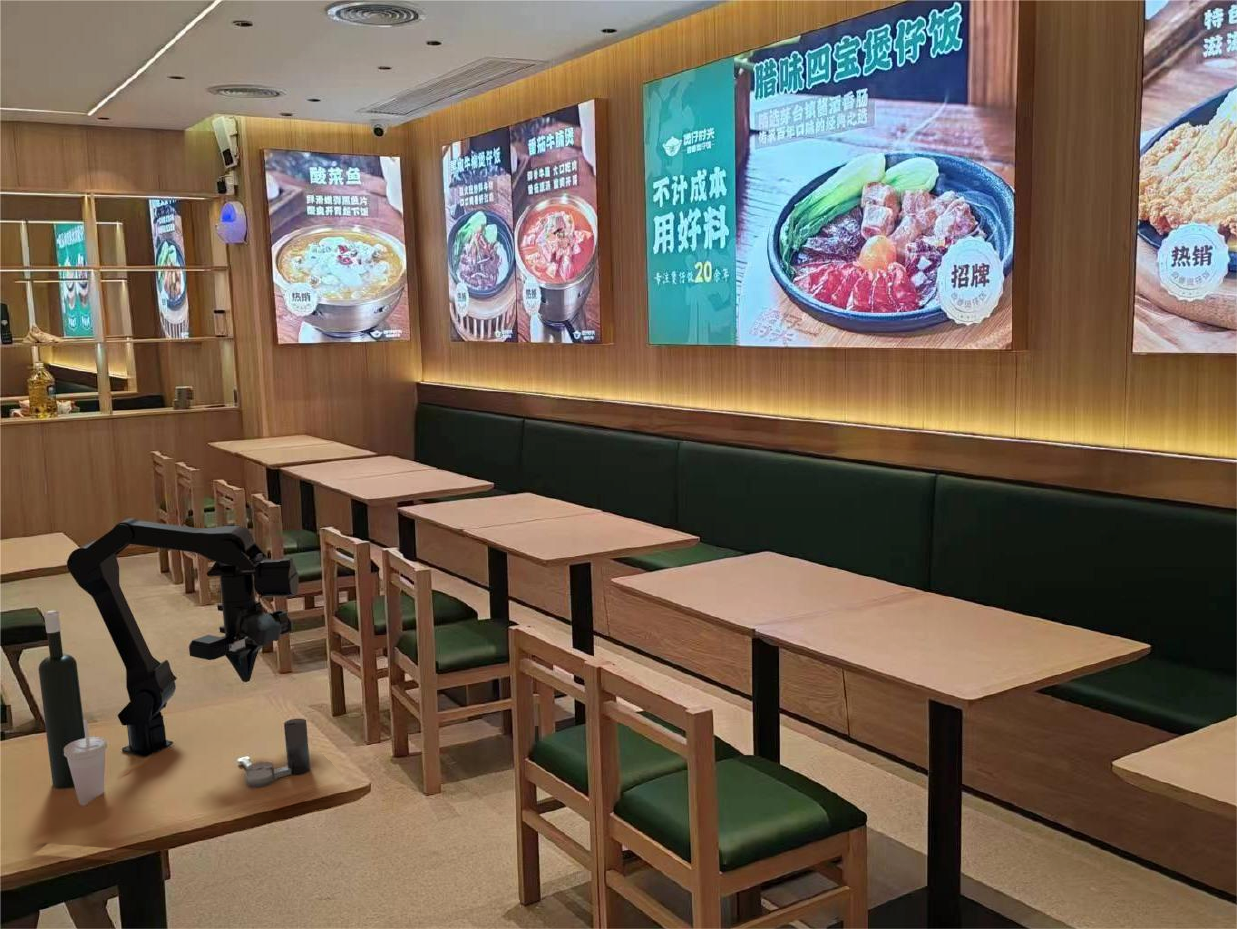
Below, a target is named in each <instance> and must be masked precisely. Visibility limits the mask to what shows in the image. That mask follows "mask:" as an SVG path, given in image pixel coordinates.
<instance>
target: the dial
mask: <svg viewBox="0 0 1237 929" xmlns="http://www.w3.org/2000/svg"><path fill="white" fill-rule="evenodd" d="M283 726H284V728H283V730H284V739H285V750H286V761H287V762H286V763H287V764H286V765H285V766H281V767H277V768H275V766H274V763H272V762H270V761H269V762H268V761H262V762H261V761H260V762H256V763H252V762H251V758H250V757H249V756H243V757H241V758H238V759H237V760H236V761H237V764H238V765H239V766H243V767H244V768H245V775H246V785H247V786H248V787H250V788H262V787H266V786H269V785H271V784H273V783H275V780H276V779H279V778H283V777H288V776H289V775H290V776H291V775H292V776H299V775H304V774H306V773H309V771H311V763H310V762H311V761H310V760H311V759H310V749H309V738H308V726H307V720H306V719H305V718H292V719H289V720H287V721H285V722H284V723H283Z"/></svg>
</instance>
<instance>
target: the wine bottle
mask: <svg viewBox="0 0 1237 929" xmlns="http://www.w3.org/2000/svg"><path fill="white" fill-rule="evenodd" d="M43 615H44V624H45V632H46V633H47V635H46V636H47V644H48V652H49V656H47V657H45V658H44V659H43V660H41V662H40V663H39V665H38V676H39V686H40V691H41V692H40V693H41V699H42V709H43V716H44V723H45V732H46V740H47V741H46V742H47V749H48V756H49V764H50V765H49V766H50V772H51V773H50V774H51V781H52V786H53V787H54V788H56V789H70V788H75V786H74V782H73V778H72V775H71V771H70V767H69V764H68V760H67V757H65V756H64V747H65V746H66V745H68V744H69V743H71V742H74V741H76V740H80V739H84V738H85V731H84V722H83V720H84V714H83V713H84V712H83V707H82V706H83V704H82V697H81V688H80V680H79V673H78V672H79V671H78V664H77V660H76V659H75V658H74V657H73V656H72V655H71V654H67V653H63V652H64V651H63V644H62V636H61V621H60V612H59V610H48V611H46V612H43Z"/></svg>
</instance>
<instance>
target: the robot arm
mask: <svg viewBox="0 0 1237 929" xmlns="http://www.w3.org/2000/svg"><path fill="white" fill-rule="evenodd" d="M130 545H135V546H143V547H149V548H157V549H164V550H173V551H180V552H189V553H194V554H198V555H199V556H201V557H204V558H205V559H207V560H209V561H213V562H214V563H213V566H212V567H211V568H210V569H209V570H208V571H207V572H206V576H208V577H219V584H220V586H219V588H220V598H221V603H220V604H217V605H216V606H217V611H219V612H222V618H223V625H222V626H219V628H218V629H219V633H221V634H224V635H223V636H217V635H216V636H215V635H211V634H206V635H204V636H201V637H198V638H195V639H192V640H191V642H190V643H189V645H188V650H189V651H188V652H189V657H193V658H197V659H201V660H206V661H213V660H217V659H220V658H223V657H226V658H227V660H228V661H229V662H230V664H231V665H232V667H233V669H234V670H235V671H236V673H237V675H238V676H239V679H241V681H242V682H243V683H248V682H250V681H251V678H252V675H253V671H254V666H255V663H256V660H257V656H258V653H259V652H260V650H261V649H262V648H263V647H265V646H266V645H268V644H269V643H271V642H272V643H273V642H277V641H279V640H280V637H281V635H284V634H287V633H290V632H292V631H293V626H292V624H293V623H292V620H291V619H290V617H289V616H288V614H287V612H286V611H285V610H284V609H282V608H280V609H278V610H276V611H275V610H274V611H273V612H267V613H266V612H264V609H263V604H262V601H260V600H259V601H258V600H257V599H256V593H257V595H260V596H261V597H262V598H274V597H275V598H278V597H279V598H281V597H296V596H297V595H298V594H297V593H298V592H299V591H298V590H299V582H300V581H299V579H300V578H299V572H298V570H297V567H296V565H295V564H294V558H293V557H284V558H280V559H279V558H277V559H276V558H275V559H269V558H268V555H267V554H266V553H265V552H264V551H263V550H262V548H260V546H259V545H258V544H257V543H256V542H255V538H254V536H253V534H252V533H251V531H250V530H249V529H248V528H246V527H245V526H241V525H228V526H215V527H208V528H199V527H192V526H191V527H190V526H185V525H184V526H183V525H177V524H176V525H175V524H171V523H170V524H168V523H162V522H160V523H159V522H153V521H146V520H139V519H137V518H133V517H131V518H127V519H125V520H122V521H120V522H119V523H117V524H116V525H115V526H114V527H113V528H112V529H111V530H109V531H108V532H107V533H106V534H104V535H102V536H101V537H100V538H98V539H97V540H92V541H90V542H88V543H86V544H84V545H82V546H80V547H78V548H76V549H75V550H73V551H72V552H70V554H69V556H68V558H67V560H66V567H67V570H68V572H69V574H70V575H71V576H72V578H73V579H74V580H75V582H76V584H77V585H78V586H79V587H80V588H81V589H82V590H83V591H85V592H86V593H87V594H88V595H89V596H90V597H91V598H92V599H93V601H94V603H95V605H96V607H97V610H98V611H99V614H100V616H101V618H102V621H103V622H104V624H105V627H106V628H107V632H108V633H109V635H110V638H111V640H112V642H113V644H114V646H115V648H116V650H117V652H118V655H119V656H120V660H121V661H122V663H123V665H124V668H125V675H126V676H125V683H126V684H125V685H126V686H125V687H126V692H127V694H128V700H129V702H128V703H127V704H126V705H125V706H124V707H123V709H121V711H120V712H118V714H117V718H118V720H119V721H120V723H121V726H126V729H127V736H128V737H127V738H128V745H126V746H124V747H121V752H123V753H126V754H131V755H133V756H138V757H141V758H146V757H149V756H151V755H153V754H155V753H157V752H158V753H159V752H160V751H162V750H164V749H166V748H168V747H170V746H171V745H173V744H174V741H172V740H169V739H167V735H166V726H165V722H164V720H165V719H164V715H163V714H162V710H163V709H165V708H166V707H167V704H168V701H169V700H170V699H171V698H172V697H173V696H174V694H175V691H176V687H177V685H176V680H177V679H178V678H177V676H176V675H174V673H173V671H172V669H171V664H170V662H169V660H167V659H165V660H163V661H162V662H160V661H158V659H157V658H155V657H154V656H153V655H152V654H151V650H150V649H149V646H148V644H147V642H146V640H145V638H144V636H143V633H142V631H141V630H140V626H139V625H138V623H137V621H136V618H135V617H134V614H133V612H132V610H131V608H130V606H129V603H128V601H127V599H126V597H125V594H124V592H123V590H122V588H121V585H120V565H119V562H118V558H117V555H119V554H120V553H121V552H123V551H124V550H126V549H127V548H128V547H129V546H130Z"/></svg>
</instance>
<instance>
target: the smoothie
mask: <svg viewBox="0 0 1237 929" xmlns="http://www.w3.org/2000/svg"><path fill="white" fill-rule="evenodd" d="M83 722H84V731H85V738H84V739H80V740H76V741H74V742H71V743H69V744H68V745H66V746H65V747H64V756H65V757H67V760H68V764H69V767H70V771H71V775H72V778H73V782H74V786H75V787H74V789H75V792H76V797H77V800H78V804H79V806H83V807H85V806H86V805H87V804H89V803H90V802H92V801H93V800H95V799H96V798H97V797H99V796H101V795H102V794H104V793H105V774H106V773H105V772H106V770H105V768H106V749H107V747H108V744H107V740H106V739H105V738H103V737H97V736H96V737H95V736H93V737H90V735H89V734H90V733H89V727H88V725H89V724H88V718H83Z"/></svg>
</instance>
